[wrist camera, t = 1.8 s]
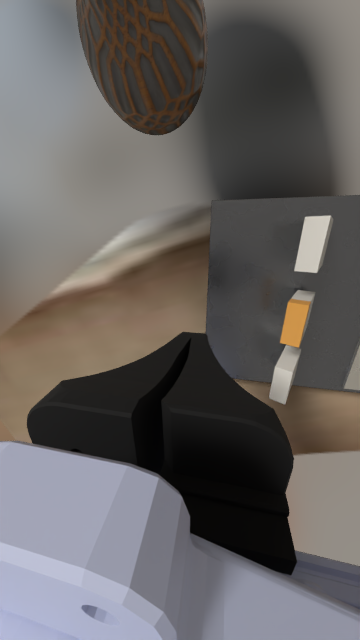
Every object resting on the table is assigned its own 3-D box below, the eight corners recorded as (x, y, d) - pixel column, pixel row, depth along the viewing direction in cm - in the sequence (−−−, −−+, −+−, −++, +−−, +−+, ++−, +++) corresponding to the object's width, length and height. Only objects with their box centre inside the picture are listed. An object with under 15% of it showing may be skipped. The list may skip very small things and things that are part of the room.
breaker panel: (366, 381, 21) (382, 397, 19) (205, 364, 24) (203, 376, 21) (442, 196, 15) (478, 190, 12) (212, 204, 17) (211, 200, 15)
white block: (322, 265, 15) (317, 273, 12) (303, 264, 16) (294, 271, 13) (333, 219, 14) (331, 215, 11) (312, 220, 15) (304, 216, 12)
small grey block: (294, 377, 19) (285, 404, 16) (280, 373, 19) (268, 398, 16) (301, 349, 18) (293, 372, 15) (286, 345, 18) (274, 366, 15)
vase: (202, 1, 13) (171, -344, 5) (217, 132, 16) (210, 27, 8) (109, 48, 15) (-20, -161, 7) (134, 160, 17) (59, 97, 9)
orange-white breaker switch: (306, 327, 17) (298, 347, 14) (290, 324, 18) (279, 342, 15) (315, 292, 16) (309, 305, 13) (297, 289, 16) (287, 302, 13)
